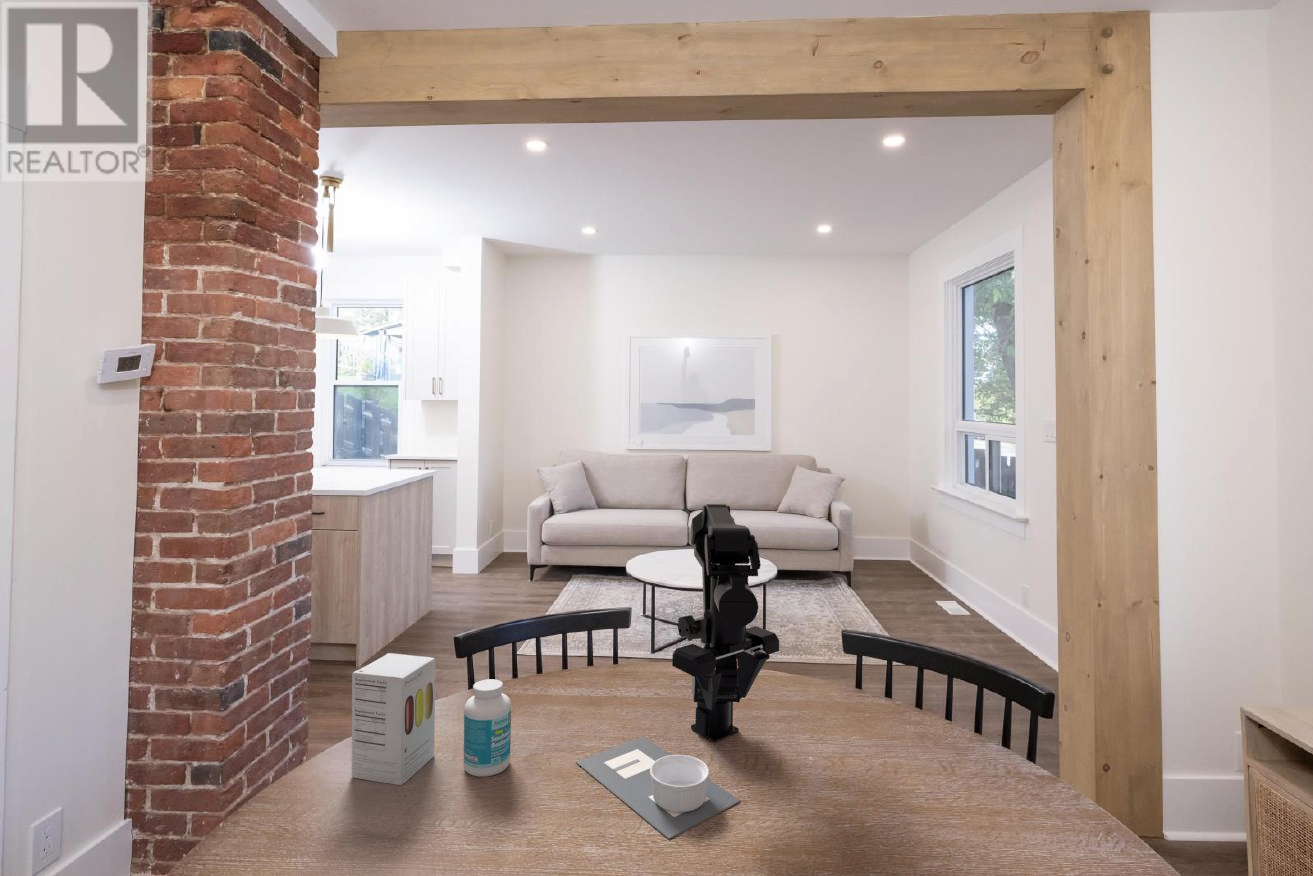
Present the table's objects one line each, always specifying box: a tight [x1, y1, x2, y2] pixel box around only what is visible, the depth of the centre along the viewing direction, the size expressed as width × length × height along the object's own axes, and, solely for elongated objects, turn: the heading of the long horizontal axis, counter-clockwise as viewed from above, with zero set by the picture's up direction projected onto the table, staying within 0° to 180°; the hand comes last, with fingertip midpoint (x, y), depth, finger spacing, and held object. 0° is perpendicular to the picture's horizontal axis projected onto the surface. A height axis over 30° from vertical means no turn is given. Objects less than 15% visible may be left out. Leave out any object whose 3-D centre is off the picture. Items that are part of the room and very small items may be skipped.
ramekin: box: [650, 754, 710, 812], centre depth 95 cm, size 9×9×4 cm
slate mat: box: [575, 736, 742, 840], centre depth 99 cm, size 14×24×1 cm, turn 39°
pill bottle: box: [463, 678, 512, 778], centre depth 103 cm, size 8×7×14 cm
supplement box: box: [351, 652, 436, 786], centre depth 102 cm, size 10×9×17 cm
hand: (726, 702), depth 101 cm, fingers open, 7 cm apart
